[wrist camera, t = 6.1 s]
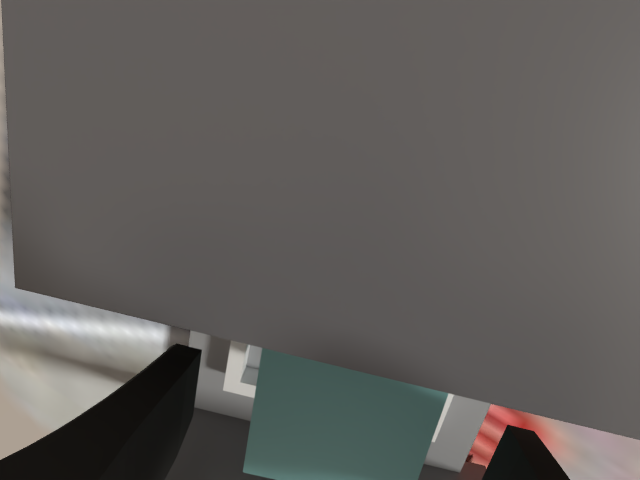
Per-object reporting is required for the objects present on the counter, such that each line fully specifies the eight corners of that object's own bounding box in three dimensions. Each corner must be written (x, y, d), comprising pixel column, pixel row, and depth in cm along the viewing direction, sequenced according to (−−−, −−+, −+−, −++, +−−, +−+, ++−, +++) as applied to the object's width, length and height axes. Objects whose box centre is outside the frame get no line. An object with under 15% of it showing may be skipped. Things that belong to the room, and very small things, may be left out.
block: (435, 266, 16) (454, 377, 11) (402, 374, 17) (407, 509, 13) (300, 238, 16) (263, 336, 11) (280, 348, 17) (242, 472, 13)
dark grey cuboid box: (590, 264, 16) (740, 464, 9) (172, 165, 16) (15, 288, 9) (783, -134, 12) (1331, -314, 5) (210, -261, 12) (-28, -600, 5)
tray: (477, 481, 20) (512, 668, 14) (158, 402, 20) (71, 556, 14) (590, 244, 15) (700, 380, 10) (183, 148, 16) (74, 229, 10)
